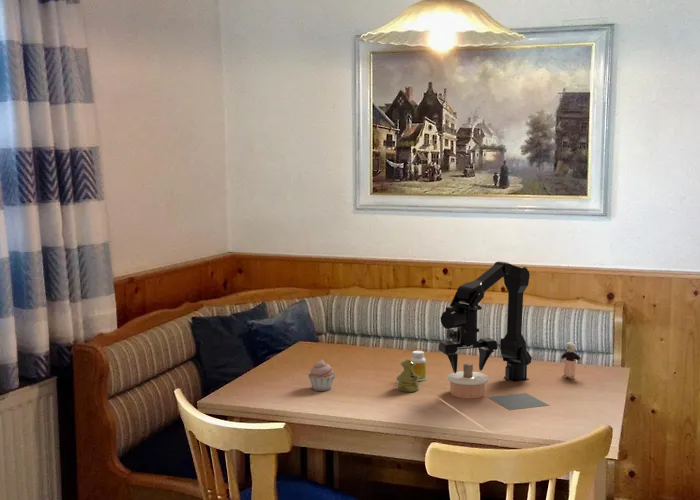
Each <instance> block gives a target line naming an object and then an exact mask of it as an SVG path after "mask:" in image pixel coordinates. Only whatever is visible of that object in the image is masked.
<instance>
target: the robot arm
mask: <svg viewBox="0 0 700 500" xmlns="http://www.w3.org/2000/svg"><path fill="white" fill-rule="evenodd" d="M502 278H503V283H504V286H505V289H506V290H507V292H508V293H507V294H508V295H507V296H508V297H507V323H506V334H505V336H504V337H503V338H500V340H499V341H500V347H499V346H498V345H499V344H498V342H497V340H496V339H493V338H491V337H484V338H479V340H478V333H479V332H480V328H478V311H481V310H482V309H483V308H482V306H480V304H479V303H480V302H481V301H482V299H484V298H485V294H486V292H487V290H489V289H490V288H491V287H493V286H494V285H495V284H496V283H498V281H501V279H502ZM529 283H530V271H529V269H528V268H527V267H523V266H517V265H513V264H512V263H509V262H505V261H495V262H494V264H493V265H492V266H491V267H490V268H489V269H487V270H486V271H484V273H482V274H481V275H479V276H478V277H477V278H476V279H475V280H472V281H468V282H466V283H463V284H461V285H459V286H458V287H457V289H456V292H455V294H454V295H453V298H452V301H451V303H450V306H446V307H445V311H443V312H442V314H441V316H440V323H441V325H442V327H443V328H445V329H446V339H447V341H440V342H439V344H438V351H439V352H441V353H442V354H444V355H446V356H447V358H448V360H449V363H450V365H451V368H452V371H453V372H454V373H456V372H458V371H457V370H458V358H459V357H458V355H459V354H458V353H457V352H458V350H468V349H477V350H478V354H479V356H478V357H479V358H478V359H479V360H478V371H480V372H482V371H483V368H484V367H485V365H486V363H487V360H488V359H489V358H490V356H491V354H492V353H494V352H495V350H498V347H499V350H500V354H501V359H502V361H503V362H506V366H505V372H504V373H505V375H504V376H503V378H504V379H505V380H508V381H511V382H514V383H516V382H523V381H524V382H525V381H530V379H529V378H528V377H527V376H528V374H527V373H528V365H530V364H531V363H532V360H533V357H532V355H531V354H530V353H529V352H528V350H527V342H526V340H525V338H524V336H523V334H522V333H523V332H522V330H523V310H524V309H523V306H524V292H525V291H526V289H527V288H528V286H529ZM454 329H456V330H454ZM448 340H451V341H448ZM453 372H452V373H453Z"/></svg>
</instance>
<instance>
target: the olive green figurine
mask: <svg viewBox="0 0 700 500" xmlns="http://www.w3.org/2000/svg"><path fill="white" fill-rule="evenodd" d="M400 366H401V367H402V368H403V370H402V371H401V372H400V373H399V374H397V376H396V380H397V382H396V390H398V391H400V392H405V393H412V392H417V391H419V389H420V386H419V385H420V383H419V382H420V381H418V380H419V376H418V375H417V374H415V372H413V370H412V368H413V366H415V362H413V361H411V359H405V360H403V361H401V362H400Z"/></svg>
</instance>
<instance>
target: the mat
mask: <svg viewBox="0 0 700 500" xmlns="http://www.w3.org/2000/svg"><path fill="white" fill-rule="evenodd" d="M487 398H488V399H489V400H491V401H493V402H494V403H496V404H498V405H500V406H501V407H503V408H505V409H506V410H508V411H514V410H522V409H530V408H531V409H533V408H540V407H548V406H549V407H550V404H548V403H546V402H544V401H542V400H541V399H538V398H536V397H534V396H533V395H531V394H529V393H528V392H520V393H513V394H511V393H510V394H503V395H492V396H487Z"/></svg>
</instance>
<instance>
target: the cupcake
mask: <svg viewBox="0 0 700 500" xmlns="http://www.w3.org/2000/svg"><path fill="white" fill-rule="evenodd" d="M307 375H308V379H309V381H310V384H311V388H312V390H313V391H317V392H326V391H327V392H328V391H330V390H331V389H332V386H333V381H334V379H335V377H336V373H334V370H333V368H332V367H331V365H330V364H328V363H325V361H324V360H323V359H320V360H318V361H317V362H315V364H314V365H313V366H312V368H311V369H310V373H308V374H307Z"/></svg>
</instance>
